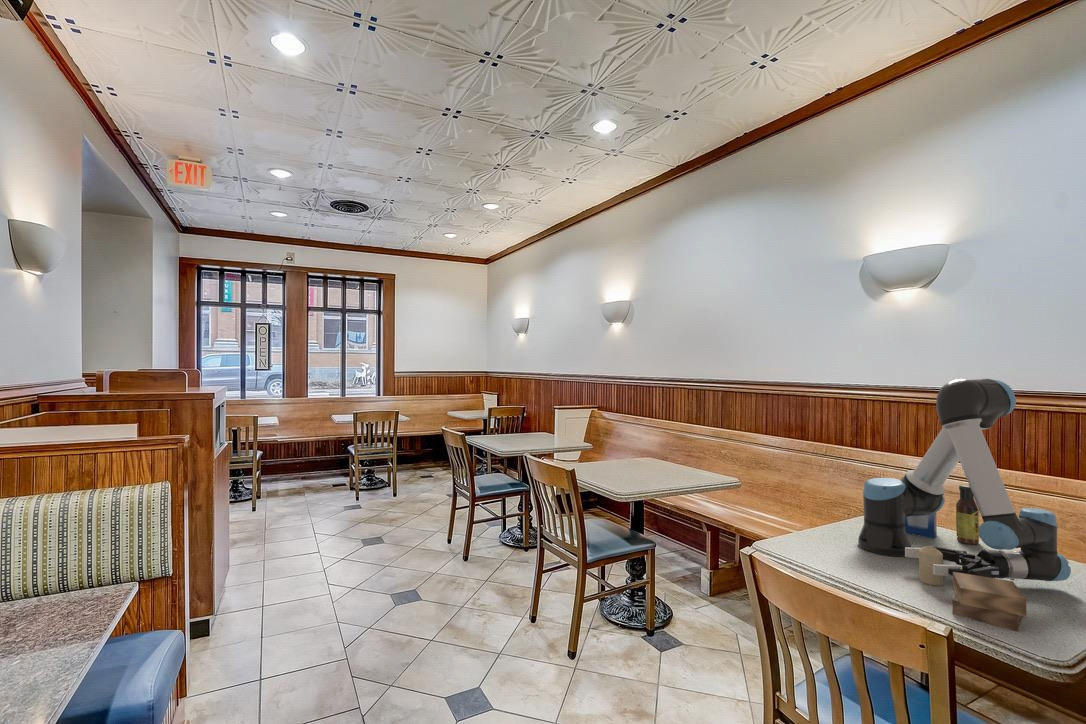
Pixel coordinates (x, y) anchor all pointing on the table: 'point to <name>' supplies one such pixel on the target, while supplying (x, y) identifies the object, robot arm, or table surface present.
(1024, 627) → the table surface
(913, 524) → the milk carton
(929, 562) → the candle
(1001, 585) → the tower top
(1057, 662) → the table surface
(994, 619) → the tower base
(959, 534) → the sauce bottle
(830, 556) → the table surface
